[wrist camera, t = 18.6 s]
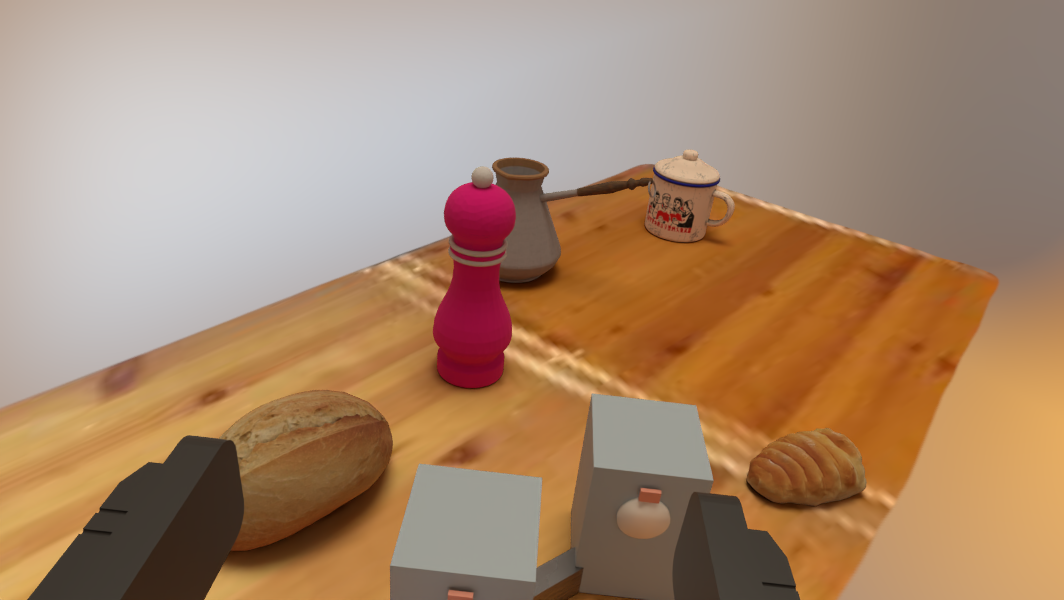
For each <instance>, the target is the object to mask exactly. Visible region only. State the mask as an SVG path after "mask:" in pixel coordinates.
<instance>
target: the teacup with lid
mask: <svg viewBox="0 0 1064 600" xmlns="http://www.w3.org/2000/svg"><path fill="white" fill-rule="evenodd" d="M653 171H654V178H653V181H654V182H655V185H656V195H655V197H652V198H651V197H650V198H649V204H648V209H647V214H646V219H645V227H646V228H647V230H648V231H649V232H651V233H652V234H654V235H655V236H658V237H660V238H663V239H666V240H670V241H675V242H694V241H698V240H700V239H702V238H703V237H704V235H705V232H706V228H707V225H708V226H713V227H716V226H721V225H723V224H724V223H726V222H727V221H728V220H729V219H730V218H731V216H732V214H733V211H734V202H733V200H732V198H731V197H730V196H729V195H728V194H726V193H724V192H721V191H717V190H716V187H717V184H718V183H719V182H720V176H719V173H718V171H717V170H716V169H714V168H713V167H711V166H709V165H707V164H705V162H703V161H702V160H701V159H699V158H698V152H696V151H694V150H685V151H684V153H683V156H677V157H674V158H669V159H663V160H661V161H659V162H657V163H656V165H655V167H654V168H653ZM651 195H652V196H653V195H654V185H653V184H652V188H651ZM714 197H718V198H721V199H723V200H724V201H725V202H726V204H727V206H728V210H727V214H726V215H725V217H724V218H723V219H721V220H710V219H709V216H710V212H711V208H712V203H713V199H714Z"/></svg>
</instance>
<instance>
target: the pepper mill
mask: <svg viewBox="0 0 1064 600" xmlns="http://www.w3.org/2000/svg"><path fill="white" fill-rule="evenodd" d="M492 182H493V173H492V172H491V170H490V169H489V168H487V167H478V168H476V169H475V170H474V171H473V173H472V182H471V183H467V184H464V185H462V186H460V187H458V188H457V189H456V190H454V191H453V192H452V193H451V194H450V196H449V197H448V200H447V202H446V205H445V210H444V219H445V224H446V227H447V228H448V230H449V231H450V232H451V233H452V235H451V236H450V238H449V244H450V247H449V249H448V251H449V255H450V256H451V258H453V260H454V270H453V278H452V281H451V285H450V287H449V289H448V291H447V293H446V295H445V297H444V298H443V300H442V302H441V304H440V306H439V308H438V310H437V313H436V316H435V319H434V326H433V336H434V339H435V342H436V343H437V345H438V346H439V347H440V348H439V350H438V354H437V370H438V372H439V374H440V376H441V377H442V378H443V379H444V380H446V381H447V382H449V383H451V384H453V385H455V386H459V387H464V388H480V387H484V386H488V385H490V384H492V383H494V382H496V381H497V380H498V379H499V378H500V377H501V375H502V373H503V367H504V353H503V351H504V350H505V349H506V348H507V347H508V345H509V343H510V341H511V337H512V322H511V318H510V314H509V311H508V308H507V306H506V304H505V301H504V299H503V297H502V294H501V291H500V286H499V270H500V265H501V262H502V261H503V260H505V258H506V256H507V252H506V248H507V246H508V243H507V240H506V239H505V238H506V237H507V236H508V235H509V234H510V233H511V231H512V230H513V228H514V226H515V220H516V211H515V205H514V203H513V201H512V199H511V197H510V196H509V194H508V193H507V192H506V191H505V190H503V189H502V188H500V187H499V186H497V185H494V184H492Z"/></svg>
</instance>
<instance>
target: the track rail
mask: <svg viewBox="0 0 1064 600" xmlns="http://www.w3.org/2000/svg"><path fill="white" fill-rule="evenodd" d="M583 569H584V568H583V567H575V547H574V548H572V549H570V550H568V551H566V552H565V553H563V554H561V555H559V556H557V557H556V558H554V559H552V560H550V561H548V562H547V563H545V564H543V565H541V566H539V567H538V568H536V582H535V589H534V596H533V600H567V599H568V598H570V597H572V596H573V595H575V594H577V593H578V592H579V589H580V584H581V579H582V574H583Z"/></svg>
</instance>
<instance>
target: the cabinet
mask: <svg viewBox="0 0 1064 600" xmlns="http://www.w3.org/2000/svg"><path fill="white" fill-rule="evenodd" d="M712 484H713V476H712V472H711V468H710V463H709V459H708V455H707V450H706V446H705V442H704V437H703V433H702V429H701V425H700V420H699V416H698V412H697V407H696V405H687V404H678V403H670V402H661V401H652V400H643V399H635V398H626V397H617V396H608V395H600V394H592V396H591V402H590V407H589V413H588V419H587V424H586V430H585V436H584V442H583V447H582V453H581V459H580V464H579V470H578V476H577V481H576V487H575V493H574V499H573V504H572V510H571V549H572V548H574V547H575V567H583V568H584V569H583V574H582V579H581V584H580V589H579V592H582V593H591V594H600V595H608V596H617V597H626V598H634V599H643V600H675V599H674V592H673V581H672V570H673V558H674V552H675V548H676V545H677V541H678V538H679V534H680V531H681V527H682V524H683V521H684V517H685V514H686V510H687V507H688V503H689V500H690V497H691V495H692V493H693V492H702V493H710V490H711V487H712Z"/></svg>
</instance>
